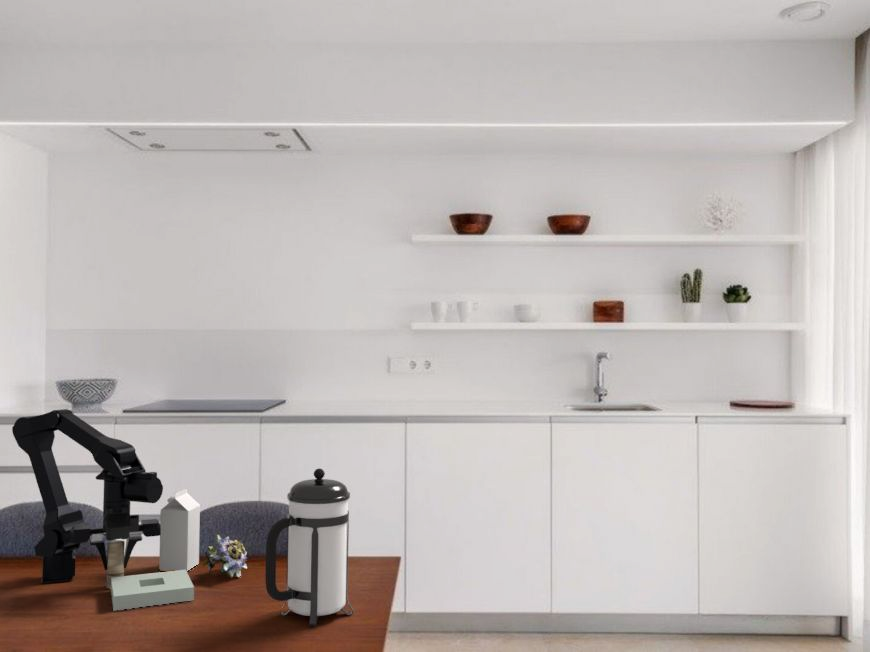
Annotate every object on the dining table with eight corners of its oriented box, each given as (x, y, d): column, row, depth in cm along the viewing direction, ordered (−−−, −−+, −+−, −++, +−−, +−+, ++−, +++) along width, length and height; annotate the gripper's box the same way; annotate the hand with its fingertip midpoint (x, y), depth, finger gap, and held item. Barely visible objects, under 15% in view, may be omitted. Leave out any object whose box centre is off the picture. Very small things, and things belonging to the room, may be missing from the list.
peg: (106, 590, 172) (107, 545, 172) (105, 585, 175) (106, 541, 176) (124, 588, 174) (125, 543, 174) (123, 583, 177) (124, 539, 177)
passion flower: (236, 601, 182) (233, 568, 175) (193, 590, 183) (189, 557, 177) (255, 563, 191) (253, 531, 184) (215, 553, 193) (211, 520, 186)
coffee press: (284, 601, 166) (286, 462, 167) (357, 603, 165) (359, 463, 166) (263, 631, 149) (266, 475, 149) (345, 633, 148) (348, 477, 149)
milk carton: (199, 565, 192) (200, 488, 193) (187, 573, 185) (188, 494, 186) (171, 564, 193) (173, 488, 193) (158, 572, 186) (160, 493, 186)
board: (113, 611, 159) (113, 596, 159) (110, 591, 171) (111, 577, 171) (193, 601, 165) (194, 587, 165) (185, 582, 178) (185, 569, 178)
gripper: (71, 510, 164) (69, 583, 163) (163, 503, 172) (162, 573, 171) (71, 500, 174) (70, 569, 173) (158, 494, 182) (157, 560, 181)
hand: (115, 568), depth 175 cm, fingers closed on peg, 4 cm apart
